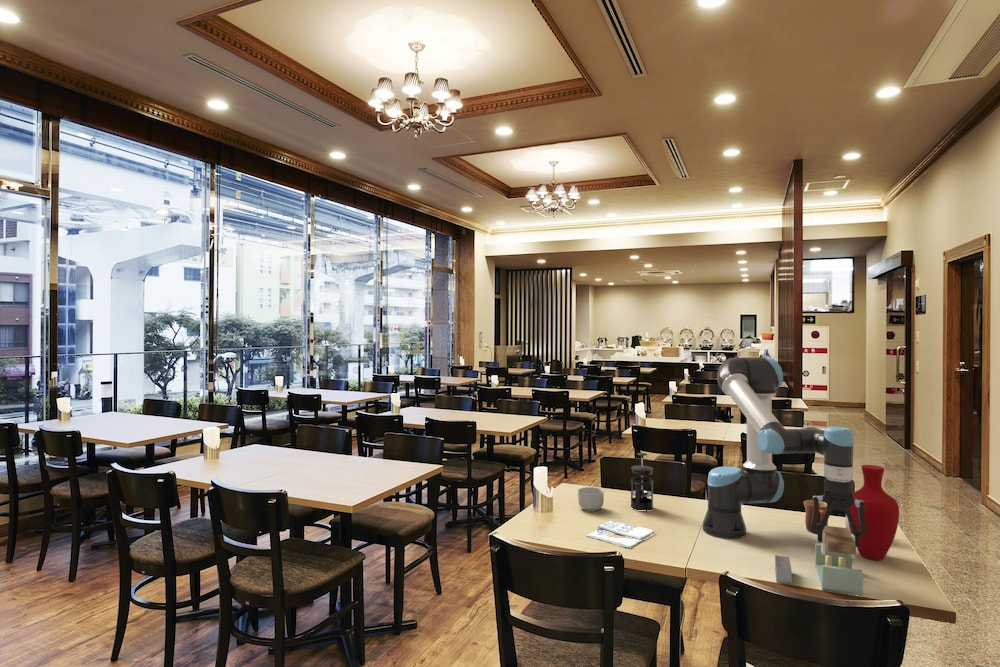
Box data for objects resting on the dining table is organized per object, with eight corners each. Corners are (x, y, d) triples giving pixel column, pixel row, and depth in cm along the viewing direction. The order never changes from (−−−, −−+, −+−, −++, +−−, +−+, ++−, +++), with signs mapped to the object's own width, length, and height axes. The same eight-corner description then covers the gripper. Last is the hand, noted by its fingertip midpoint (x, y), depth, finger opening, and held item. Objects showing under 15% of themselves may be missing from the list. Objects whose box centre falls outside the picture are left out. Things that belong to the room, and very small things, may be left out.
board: (827, 551, 171) (827, 541, 171) (822, 534, 185) (822, 525, 185) (855, 554, 169) (855, 544, 169) (847, 537, 182) (847, 528, 182)
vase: (842, 545, 205) (843, 459, 204) (892, 552, 199) (893, 463, 199) (849, 561, 191) (850, 469, 191) (903, 568, 185) (904, 474, 185)
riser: (776, 582, 176) (776, 567, 175) (775, 569, 185) (775, 555, 185) (791, 584, 174) (791, 569, 174) (789, 571, 183) (789, 557, 183)
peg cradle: (822, 590, 170) (822, 566, 170) (815, 564, 188) (815, 543, 188) (862, 597, 166) (862, 572, 166) (851, 570, 184) (851, 547, 184)
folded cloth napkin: (656, 535, 216) (656, 529, 216) (628, 551, 201) (628, 545, 201) (611, 523, 229) (611, 518, 229) (582, 537, 214) (582, 531, 214)
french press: (634, 502, 254) (635, 449, 253) (656, 506, 249) (656, 452, 249) (626, 510, 243) (626, 455, 243) (648, 514, 239) (649, 457, 238)
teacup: (605, 513, 240) (605, 493, 239) (578, 513, 240) (579, 493, 240) (600, 503, 254) (600, 484, 253) (575, 502, 254) (575, 484, 254)
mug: (800, 526, 225) (800, 499, 225) (825, 527, 223) (825, 500, 223) (810, 537, 213) (810, 509, 213) (836, 539, 211) (836, 510, 211)
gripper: (802, 478, 177) (801, 554, 177) (879, 485, 169) (879, 565, 170) (800, 473, 184) (799, 546, 184) (874, 479, 176) (874, 555, 176)
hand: (837, 555), depth 177 cm, fingers closed on board, 7 cm apart
